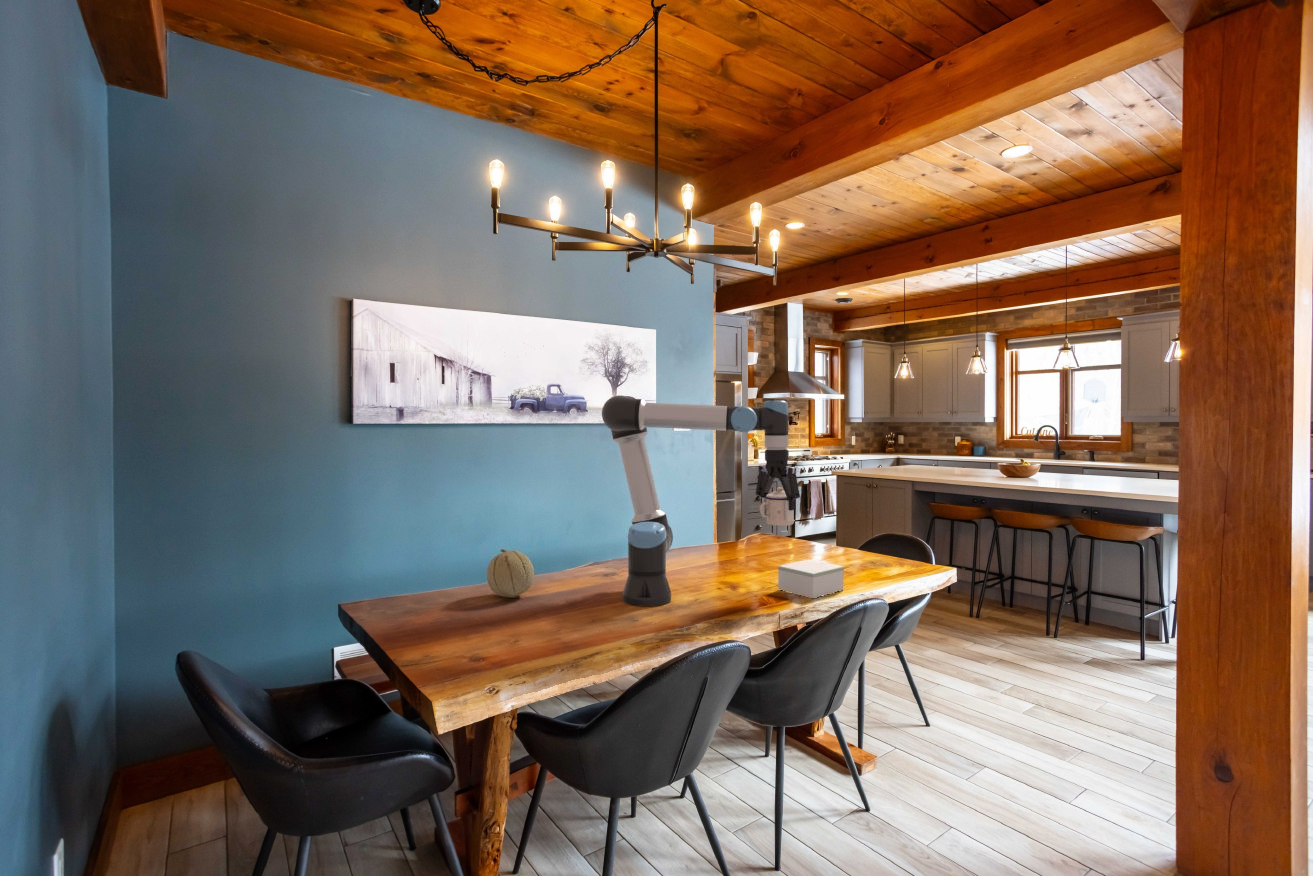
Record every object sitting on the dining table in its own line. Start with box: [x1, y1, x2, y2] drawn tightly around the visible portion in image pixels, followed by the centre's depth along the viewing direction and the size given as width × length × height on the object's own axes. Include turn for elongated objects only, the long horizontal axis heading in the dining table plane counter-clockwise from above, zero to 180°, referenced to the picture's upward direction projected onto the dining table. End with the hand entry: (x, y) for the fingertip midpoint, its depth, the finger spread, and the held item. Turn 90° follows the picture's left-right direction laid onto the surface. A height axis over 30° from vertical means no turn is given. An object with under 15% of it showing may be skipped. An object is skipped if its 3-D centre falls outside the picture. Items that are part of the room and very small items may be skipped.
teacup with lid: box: [759, 486, 795, 527], centre depth 213 cm, size 12×9×12 cm
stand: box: [777, 558, 845, 599], centre depth 218 cm, size 14×16×8 cm
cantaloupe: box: [486, 548, 535, 599], centre depth 209 cm, size 15×15×15 cm
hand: (777, 519), depth 212 cm, fingers closed on teacup with lid, 9 cm apart
